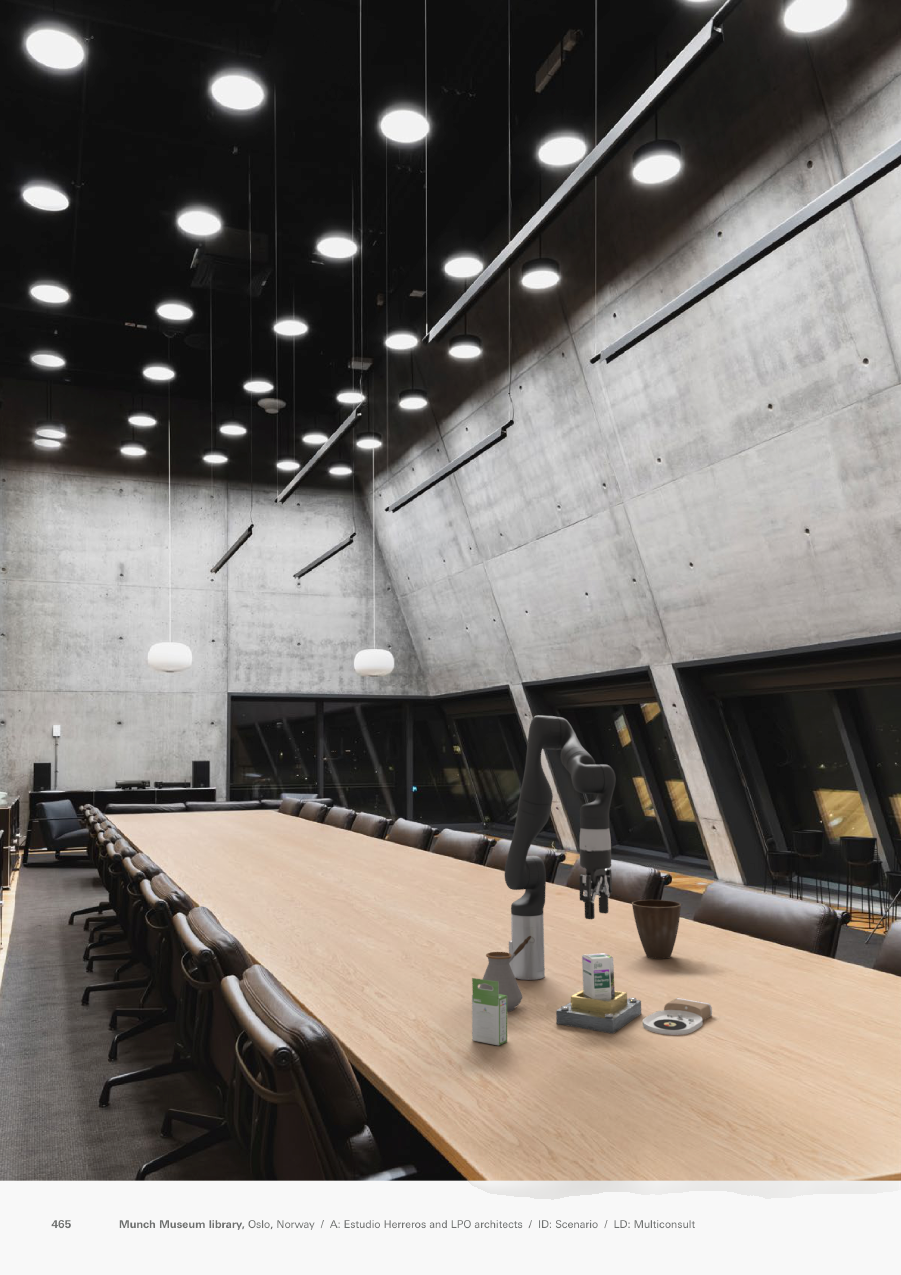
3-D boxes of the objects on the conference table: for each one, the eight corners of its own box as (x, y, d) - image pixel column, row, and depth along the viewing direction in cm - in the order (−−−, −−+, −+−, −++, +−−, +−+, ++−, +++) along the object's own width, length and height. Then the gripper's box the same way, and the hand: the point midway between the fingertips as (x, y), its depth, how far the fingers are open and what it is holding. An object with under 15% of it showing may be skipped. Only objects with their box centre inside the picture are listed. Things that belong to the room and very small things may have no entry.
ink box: (508, 1042, 192) (507, 978, 194) (499, 1047, 189) (498, 982, 191) (481, 1036, 196) (480, 974, 198) (471, 1041, 193) (471, 977, 194)
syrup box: (593, 1023, 205) (592, 958, 207) (583, 1016, 211) (581, 953, 213) (616, 1021, 207) (614, 957, 208) (604, 1014, 212) (603, 951, 214)
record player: (716, 1004, 210) (682, 1026, 194) (716, 1018, 209) (682, 1041, 194) (670, 996, 217) (633, 1017, 201) (670, 1009, 217) (634, 1031, 201)
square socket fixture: (556, 1024, 205) (556, 999, 205) (587, 1005, 220) (587, 982, 220) (613, 1033, 197) (612, 1008, 198) (641, 1013, 212) (640, 990, 213)
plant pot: (623, 954, 276) (622, 901, 278) (662, 949, 282) (660, 898, 284) (654, 964, 262) (652, 908, 265) (693, 958, 269) (691, 905, 271)
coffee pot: (505, 1018, 210) (505, 952, 212) (467, 1009, 217) (466, 946, 219) (551, 998, 227) (550, 938, 229) (514, 991, 233) (513, 932, 235)
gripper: (592, 843, 221) (594, 910, 219) (568, 849, 210) (570, 919, 207) (620, 845, 217) (622, 913, 215) (598, 851, 206) (599, 922, 203)
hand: (596, 916), depth 211 cm, fingers open, 8 cm apart
